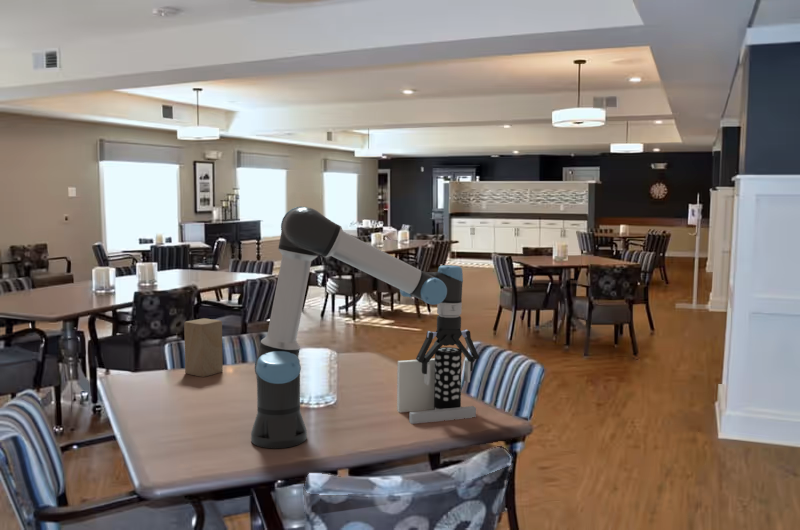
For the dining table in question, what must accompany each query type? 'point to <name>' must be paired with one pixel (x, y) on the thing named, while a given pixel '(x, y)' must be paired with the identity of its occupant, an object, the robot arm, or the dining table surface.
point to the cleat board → (423, 395)
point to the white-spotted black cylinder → (447, 378)
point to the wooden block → (203, 347)
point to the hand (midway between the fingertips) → (447, 382)
